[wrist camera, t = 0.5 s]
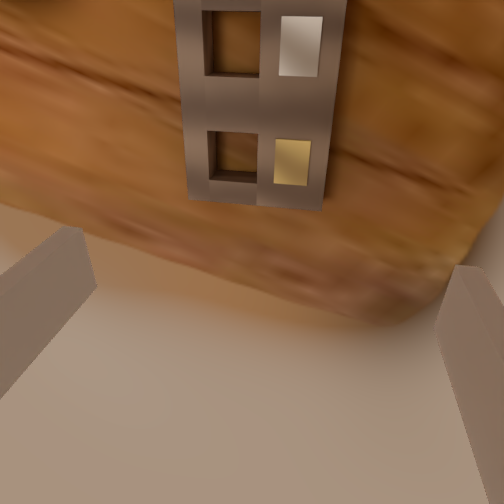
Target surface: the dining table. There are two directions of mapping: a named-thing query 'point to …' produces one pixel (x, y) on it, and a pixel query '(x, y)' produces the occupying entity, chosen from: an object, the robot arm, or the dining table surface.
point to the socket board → (262, 101)
